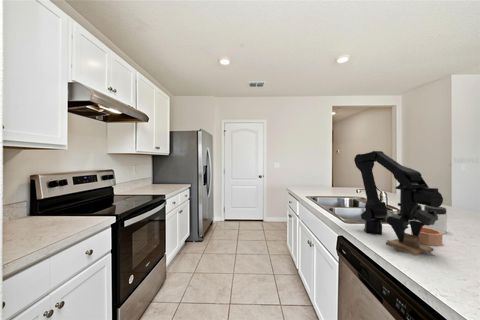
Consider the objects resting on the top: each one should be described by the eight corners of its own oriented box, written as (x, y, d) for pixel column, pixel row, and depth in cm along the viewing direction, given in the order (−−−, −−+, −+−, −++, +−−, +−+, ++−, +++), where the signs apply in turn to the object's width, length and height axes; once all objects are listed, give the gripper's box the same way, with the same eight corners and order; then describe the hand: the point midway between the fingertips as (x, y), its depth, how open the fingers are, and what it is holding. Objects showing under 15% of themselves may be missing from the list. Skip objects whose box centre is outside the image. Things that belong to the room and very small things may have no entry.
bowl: (417, 245, 89) (417, 233, 89) (407, 236, 99) (407, 225, 99) (447, 248, 86) (447, 236, 86) (434, 239, 96) (434, 228, 96)
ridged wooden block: (415, 255, 79) (415, 242, 79) (385, 244, 89) (386, 232, 89) (433, 250, 83) (433, 238, 83) (402, 240, 93) (403, 229, 93)
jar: (443, 235, 100) (443, 210, 100) (421, 230, 107) (421, 206, 107) (448, 231, 105) (448, 207, 105) (427, 227, 112) (427, 204, 112)
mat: (396, 252, 82) (397, 251, 82) (386, 240, 94) (386, 240, 94) (435, 257, 79) (435, 256, 79) (419, 244, 90) (419, 243, 90)
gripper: (417, 208, 75) (416, 252, 75) (447, 203, 82) (447, 244, 82) (385, 202, 86) (385, 240, 86) (414, 198, 92) (414, 234, 93)
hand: (408, 240), depth 86 cm, fingers open, 9 cm apart
